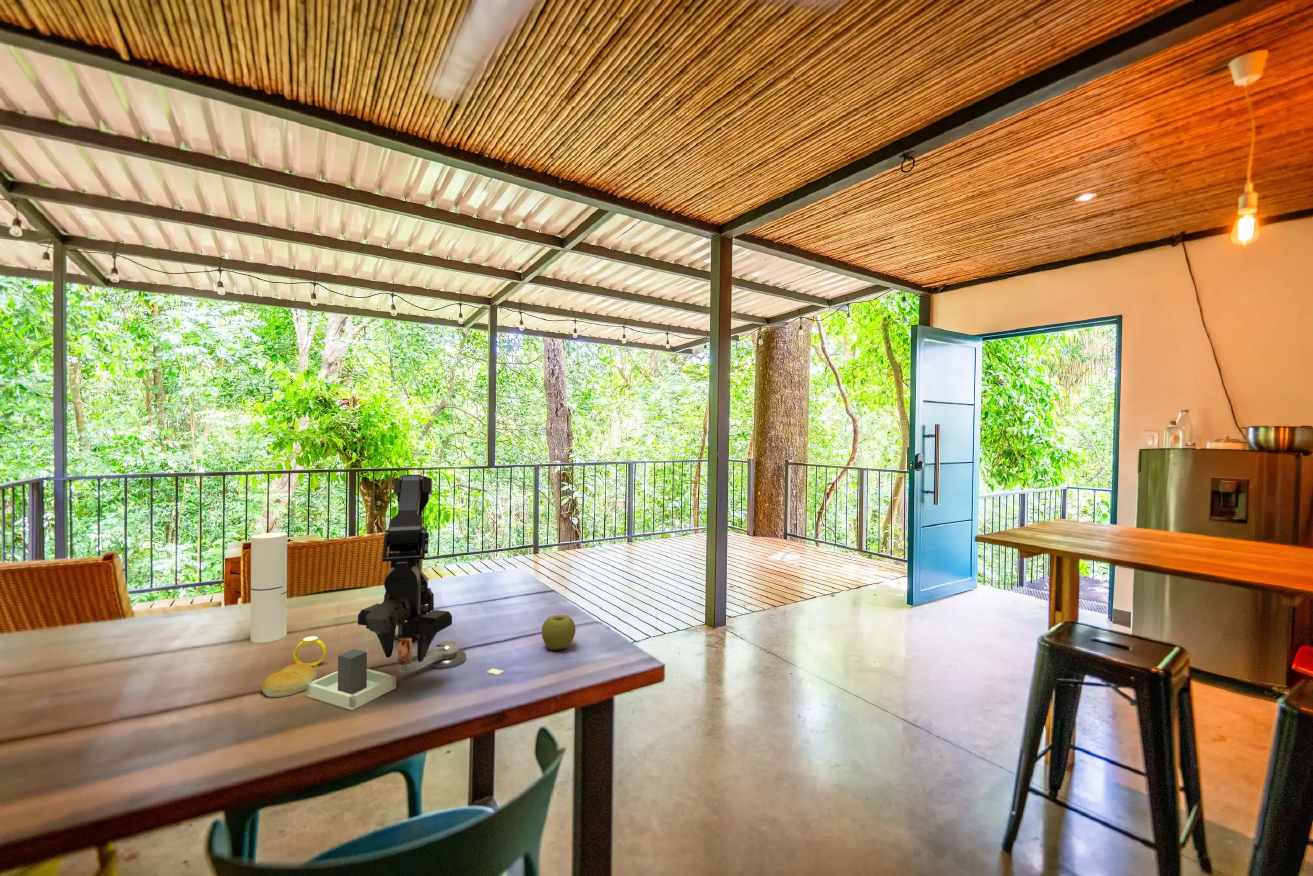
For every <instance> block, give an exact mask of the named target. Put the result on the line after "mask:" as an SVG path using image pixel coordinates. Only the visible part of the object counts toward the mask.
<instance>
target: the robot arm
mask: <svg viewBox="0 0 1313 876" xmlns="http://www.w3.org/2000/svg"><path fill="white" fill-rule="evenodd" d="M393 481H394V482H393V495H394V496H397V503H398V505H397V507H398V508H397V514H396V515H394V516H393V517H391V518H390V519H389V524H388V529H384V538H383V539H384V540H383V550H382V560H381V561H382V562H383V563H384V562H390V563H389V564H390V565H389V570H388V571H387V575H386V577H385V579H384V582H383V583H384V585H383V586H384V590H385V592H384V593H385V594H384V595H383V597H384V598H383V602H382V603H375V604H372V605H371V606H370V605H369V606H368V607H365V608H363V609H361V610H360V611H359V613H358V615H357V625H359V626H364V627H365V628H366V629H367V630H369V631H370V632H373V633H375V634H376V636H377V638H378V640H379V642H380V645H381V647H382V650H383V653H384V654H385V655H384V656H385V658H387V659H388V658H390V657H392V654H393V652H394V646H395V640H397V641H398V639H400V638H403V637H411V638H412V644H413V643H415V642H417V644H416V645H417V648H416V649H417V651H416V652H417V653H416V656H418V662H421V661H423V659H424V657H425V655H426V653H427V652H428V651H429V648H430V647H431V644H432V642H433V640H434V638H435V636H436V634H437V633H439V632H441V631H442V630H444V629H446V628H448V627H450V626H452V625H453V615H452V614H451V612H450V611H448V610H447V611H446V610H441V609H440V610H438V609H434V608H435V607H434V606H435V599H434V598H435V596H434V595H435V594H434V593H433V592H432V588H431V587H429V580H428V578H427V577H426V576H425V574H424V572H423V569H422V568H423V567H422V566H423V565H422V560H425V558H426V555H427V554H429V543H430V542H429V541H430V540H429V539H430V537H429V536H430V533H429V532H428V531H427V528H426V527H423V525H424V524H423V511H424V510H425V508H426V507H427V505H428V503H429V501H430V496H431V495H433V480H432V478H431V477H428V476H425V475H422V474H402V475H400V476H399V477H395V478H393ZM396 630H397V634H396Z"/></svg>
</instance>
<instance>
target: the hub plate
mask: <svg viewBox="0 0 1313 876" xmlns="http://www.w3.org/2000/svg"><path fill="white" fill-rule="evenodd" d="M466 660H467V653H466V652H465V651H463V650H461V649H457V656H455V657H454V658H451V659H441V660H438V661H436V662H433V663H431V664H428V665H427V667H429V668H431V669H435V670H437V669H438V670H446V669H451V668H455V667H459V666H460V665H462V664H464V663H465V662H466Z"/></svg>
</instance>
